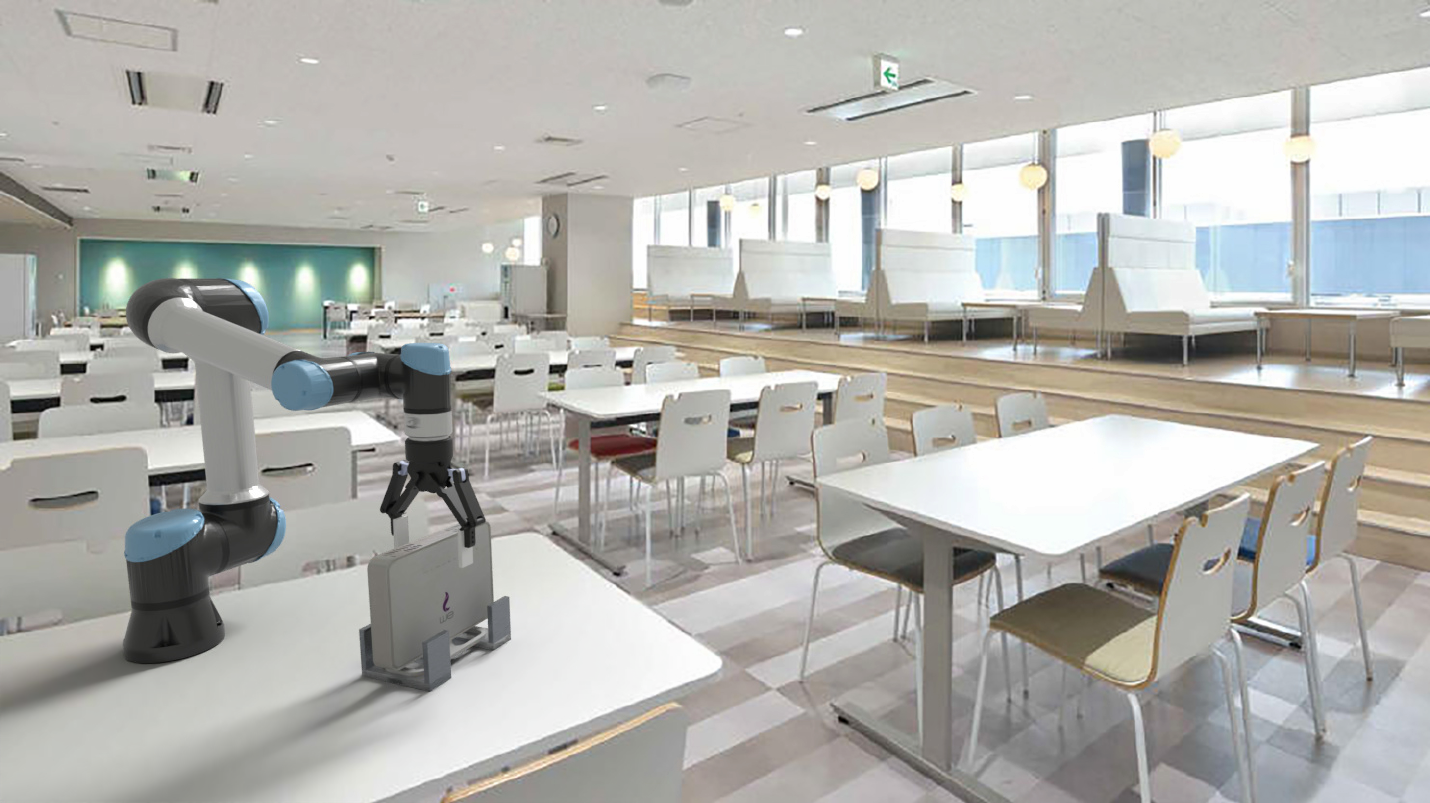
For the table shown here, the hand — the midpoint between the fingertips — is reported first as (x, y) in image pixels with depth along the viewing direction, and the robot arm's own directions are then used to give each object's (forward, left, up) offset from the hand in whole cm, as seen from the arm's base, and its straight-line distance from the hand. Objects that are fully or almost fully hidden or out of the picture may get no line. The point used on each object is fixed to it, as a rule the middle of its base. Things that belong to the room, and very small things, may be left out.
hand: (433, 559), depth 139 cm
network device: (0, 0, -16) cm, 16 cm away
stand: (0, 0, -17) cm, 17 cm away
